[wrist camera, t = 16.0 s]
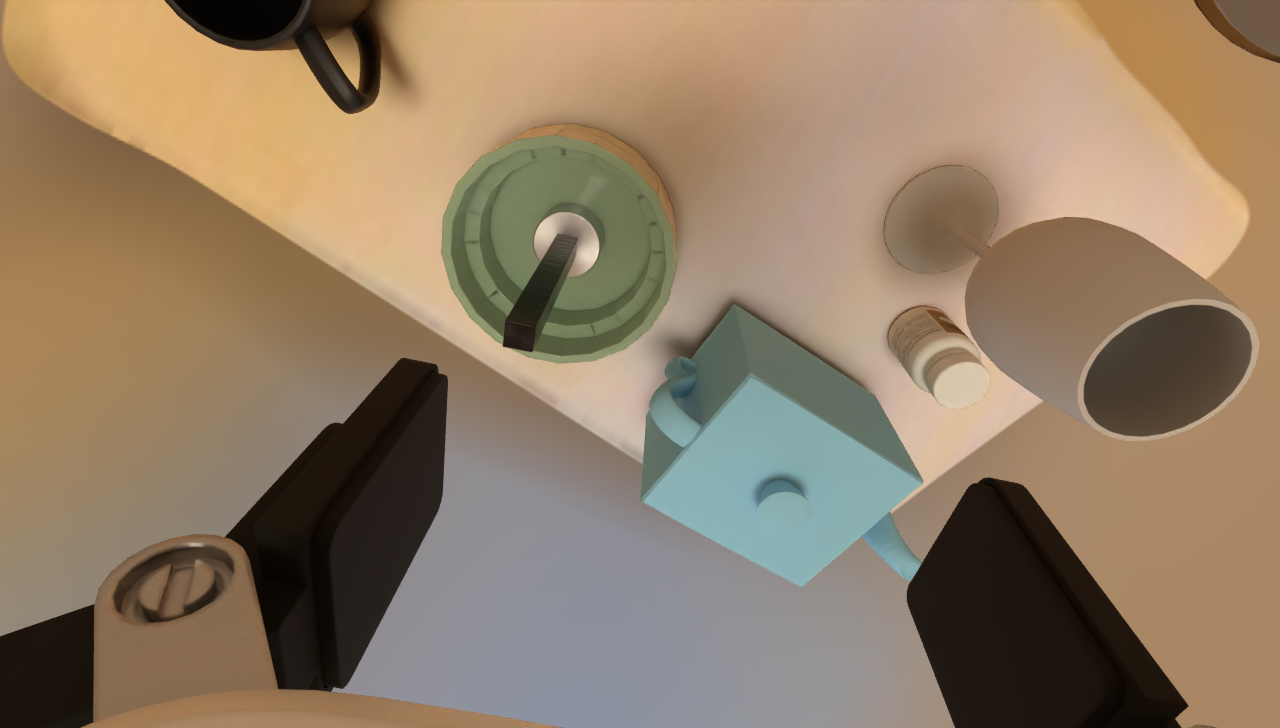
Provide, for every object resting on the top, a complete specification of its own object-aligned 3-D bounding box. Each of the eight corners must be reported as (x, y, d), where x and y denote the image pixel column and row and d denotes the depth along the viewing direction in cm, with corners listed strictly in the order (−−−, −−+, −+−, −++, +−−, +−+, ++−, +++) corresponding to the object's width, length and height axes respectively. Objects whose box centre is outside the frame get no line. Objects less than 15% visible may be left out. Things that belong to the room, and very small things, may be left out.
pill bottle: (960, 337, 44) (1012, 391, 37) (904, 369, 46) (945, 427, 39) (932, 293, 43) (981, 341, 36) (876, 327, 44) (912, 380, 37)
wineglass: (977, 138, 38) (1270, 231, 19) (1014, 239, 40) (1300, 405, 22) (862, 202, 40) (1026, 342, 21) (905, 294, 43) (1082, 487, 24)
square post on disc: (609, 210, 40) (574, 302, 26) (598, 271, 42) (560, 387, 28) (544, 196, 40) (473, 281, 26) (536, 258, 42) (467, 368, 28)
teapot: (618, 385, 47) (599, 503, 35) (701, 274, 43) (712, 366, 31) (831, 509, 52) (879, 651, 40) (927, 422, 48) (1013, 552, 36)
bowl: (697, 149, 39) (700, 166, 34) (651, 342, 46) (648, 381, 40) (478, 101, 38) (447, 111, 33) (465, 304, 45) (437, 339, 40)
